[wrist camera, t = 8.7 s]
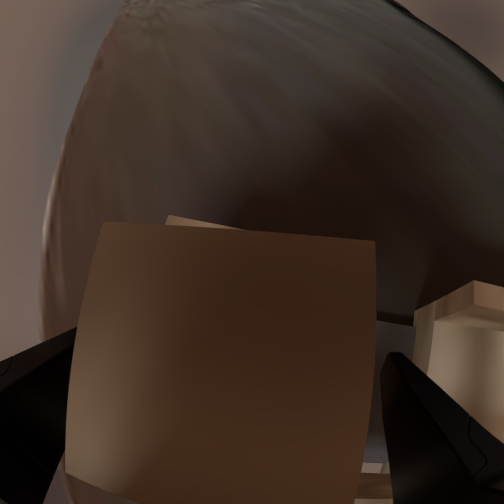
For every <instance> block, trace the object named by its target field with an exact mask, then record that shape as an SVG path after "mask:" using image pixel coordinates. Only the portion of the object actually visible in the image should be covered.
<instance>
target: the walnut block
mask: <svg viewBox="0 0 504 504" xmlns="http://www.w3.org/2000/svg"><path fill="white" fill-rule="evenodd" d="M376 319H377V275H376V247H375V241H368V240H357V239H347V238H336V237H325V236H313V235H301V234H289V233H277V232H264V231H251V230H238V229H224V228H210V227H195V226H179V225H163V224H146V223H128V222H109V221H104V222H103V226H102V229H101V232H100V235H99V239H98V242H97V246H96V249H95V253H94V256H93V260H92V264H91V268H90V272H89V276H88V280H87V284H86V288H85V292H84V297H83V301H82V306H81V311H80V316H79V321H78V327H77V332H76V338H75V344H74V351H73V358H72V365H71V373H70V382H69V391H68V403H67V418H66V444H65V467H66V473H68V474H70V475H72V476H74V477H76V478H78V479H80V480H83V481H85V482H87V483H89V484H91V485H94V486H96V487H98V488H101V489H103V490H106V491H108V492H111V493H113V494H116V495H119V496H121V497H124V498H127V499H130V500H133V501H136V502H139V503H142V504H354V502H355V498H356V493H357V489H358V484H359V479H360V474H361V468H362V463H363V458H364V452H365V446H366V439H367V432H368V425H369V417H370V409H371V400H372V390H373V378H374V365H375V348H376Z"/></svg>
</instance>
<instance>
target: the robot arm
mask: <svg viewBox="0 0 504 504" xmlns="http://www.w3.org/2000/svg"><path fill="white" fill-rule="evenodd" d="M76 332H77V327H75V328H73V329H71V330H69V331H66V332H64V333H62V334H60V335H58V336H55V337H53V338H51V339H49V340H47V341H44V342H42V343H40V344H38V345H36V346H33V347H31V348H29V349H27V350H25V351H23V352H20V353H18V354H16V355H14V356H11V357H9V358H7V359H5V360H3V361H1V362H0V504H43V502H44V499H45V497H46V494H47V491H48V489H49V486H50V484H51V481H52V479H53V476H54V473H55V471H56V469H57V467H58V464H59V462H60V460H61V457H62V455H63V453H64V450H65V444H66V418H67V403H68V391H69V382H70V373H71V365H72V358H73V351H74V344H75V338H76ZM380 390H381V407H382V420H383V427H384V433H385V440H386V446H387V453H388V461H389V469H390V477H391V486H392V496H393V504H504V443H502V442H501V441H500V440H499V439H497V438H496V437H495V436H494V435H492V434H491V433H490V432H489V431H488V430H486V429H485V428H484V427H483V426H482V425H481V424H480V423H479V422H477V421H476V420H475V419H474V418H473V417H472V416H470V414H469V413H468V412H467V411H466V410H464V409H463V408H462V407H461V406H460V405H459V404H458V403H457V402H456V401H455V400H454V399H453V398H451V397H450V396H449V395H448V394H447V393H446V392H445V391H444V390H443V389H442V388H440V387H439V386H438V385H437V384H436V383H435V382H434V381H433V380H432V379H431V378H429V377H428V376H427V375H426V374H425V373H424V372H423V371H422V370H421V369H419V368H418V367H417V366H416V365H415V364H414V363H413V362H412V361H411V360H409V359H408V358H407V357H406V356H405V355H404V354H403V353H401V352H389V353H388V354H387V356H386V358H385V361H384V363H383V366H382V368H381V371H380Z"/></svg>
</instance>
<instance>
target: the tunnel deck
mask: <svg viewBox="0 0 504 504" xmlns="http://www.w3.org/2000/svg"><path fill="white" fill-rule="evenodd" d="M165 225H179V226H195V227H210V228H224V229H238V228H233V227H228V226H223V225H218V224H213V223H208V222H202V221H197V220H192V219H187V218H181V217H176V216H171V215H169V216H168V218H167V221H166V223H165ZM238 230H243V229H238ZM389 352H401V353H403V354H404V355H405V356H406V357H407V358H408V359H409V360H411V361H412V362H413V363H414V364H415V365H416V366H417V367H418V368H419V369H421V370H422V371H423V372H424V373H425V374H426V375H427V376H428V377H429V378H431V379H432V380H433V381H434V382H435V383H436V384H437V385H438V386H439V387H440V388H442V389H443V390H444V391H445V392H446V393H447V394H448V395H449V396H450V397H451V398H453V399H454V400H455V401H456V402H457V403H458V404H459V405H460V406H461V407H462V408H463V409H464V410H466V411H467V412H468V413H469V414H470V416H472V417H473V418H474V419H475V420H476V421H477V422H479V423H480V424H481V425H482V426H483V427H484V428H485V429H486V430H488V431H489V432H490V433H491V434H492V435H494V436H495V437H496V438H497V439H499V440H500V441H501V442H502V443H504V287H500V286H496V285H492V284H488V283H483V282H479V281H475V280H473V281H471V282H470V283H468V284H466V285H464V286H462V287H461V288H459V289H457V290H455V291H453V292H451V293H449V294H448V295H446V296H444V297H442V298H440V299H438V300H436V301H434V302H432V303H430V304H428V305H426V306H424V307H422V308H420V309H418V310H416V311H415V313H414V322H413V327H412V326H406V325H400V324H395V323H389V322H383V321H378V320H376V348H375V365H374V378H373V390H372V400H371V409H370V417H369V425H368V432H367V439H366V446H365V452H364V458H363V462H369V463H383V466H382V469H381V472H380V474H378V473H377V474H376V473H361V474H360V479H359V484H358V489H357V493H356V498H355V502H354V504H393V496H392V486H391V477H390V469H389V461H388V453H387V446H386V440H385V433H384V427H383V420H382V407H381V390H380V371H381V368H382V366H383V363H384V361H385V358H386V356H387V354H388V353H389Z"/></svg>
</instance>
